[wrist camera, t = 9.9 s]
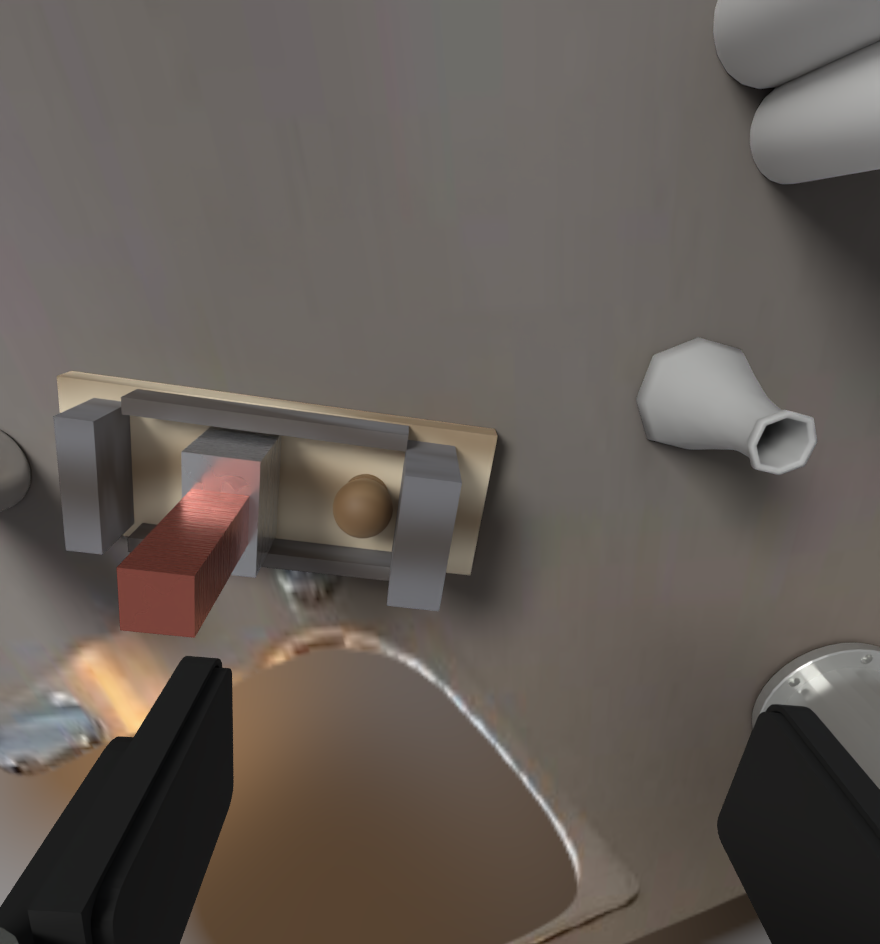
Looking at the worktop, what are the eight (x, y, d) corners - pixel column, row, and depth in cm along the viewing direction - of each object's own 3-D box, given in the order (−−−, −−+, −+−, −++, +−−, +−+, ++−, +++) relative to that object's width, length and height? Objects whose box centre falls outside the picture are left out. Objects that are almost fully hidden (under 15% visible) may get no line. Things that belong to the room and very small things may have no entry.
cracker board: (468, 563, 40) (478, 630, 33) (83, 519, 38) (7, 580, 31) (494, 428, 37) (512, 471, 30) (71, 370, 34) (-17, 401, 27)
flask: (739, 443, 38) (845, 507, 28) (630, 451, 38) (700, 518, 28) (755, 332, 35) (876, 362, 26) (637, 340, 35) (717, 373, 26)
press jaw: (276, 536, 37) (206, 676, 25) (212, 528, 36) (110, 667, 24) (281, 432, 34) (207, 533, 22) (213, 424, 34) (100, 520, 22)
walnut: (390, 523, 37) (387, 552, 34) (335, 516, 37) (326, 545, 33) (397, 472, 36) (395, 496, 32) (340, 464, 36) (331, 489, 32)
